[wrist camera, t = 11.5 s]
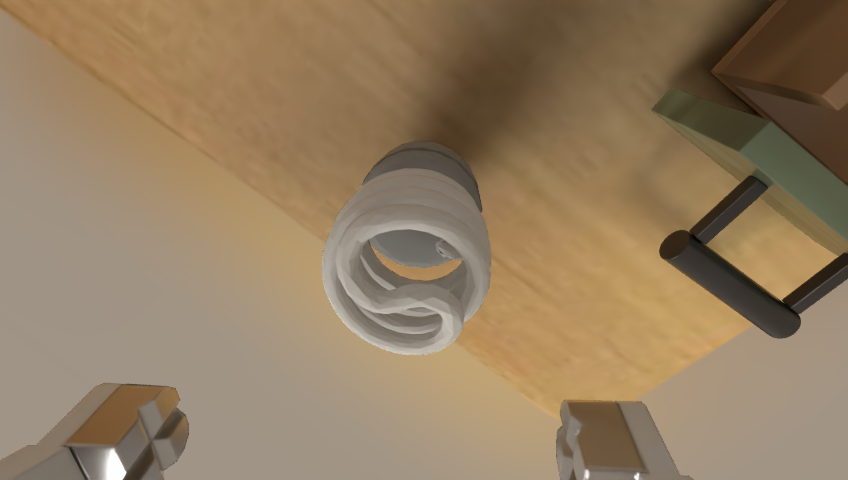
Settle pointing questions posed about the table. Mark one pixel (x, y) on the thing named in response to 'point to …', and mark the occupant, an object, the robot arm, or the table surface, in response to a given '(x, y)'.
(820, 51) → the drawer
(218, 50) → the table surface
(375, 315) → the light bulb
